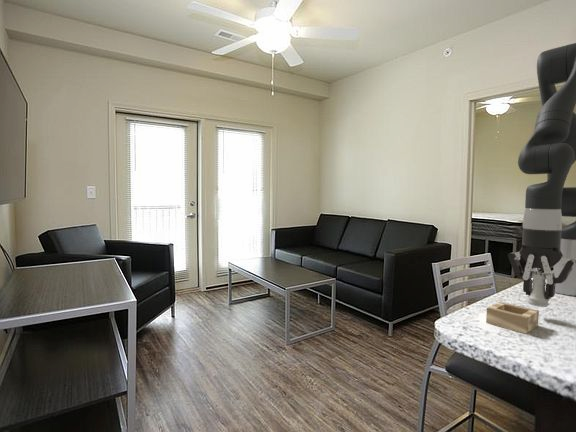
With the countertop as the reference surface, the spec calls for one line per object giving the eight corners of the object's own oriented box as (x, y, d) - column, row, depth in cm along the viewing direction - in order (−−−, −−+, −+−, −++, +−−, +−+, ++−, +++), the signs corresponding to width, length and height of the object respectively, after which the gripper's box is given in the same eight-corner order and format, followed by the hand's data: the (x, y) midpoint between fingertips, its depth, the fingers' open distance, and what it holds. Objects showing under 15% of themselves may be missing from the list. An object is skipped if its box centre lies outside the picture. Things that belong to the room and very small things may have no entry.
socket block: (499, 315, 84) (500, 301, 84) (538, 325, 78) (538, 310, 77) (486, 322, 79) (486, 307, 79) (525, 333, 73) (526, 317, 73)
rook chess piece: (553, 308, 80) (555, 275, 80) (532, 306, 81) (534, 274, 81) (543, 302, 85) (544, 270, 84) (523, 300, 86) (524, 270, 85)
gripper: (583, 228, 78) (579, 300, 80) (514, 224, 90) (511, 287, 91) (575, 230, 74) (570, 307, 75) (503, 225, 85) (500, 292, 86)
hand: (538, 296), depth 83 cm, fingers closed on rook chess piece, 3 cm apart
